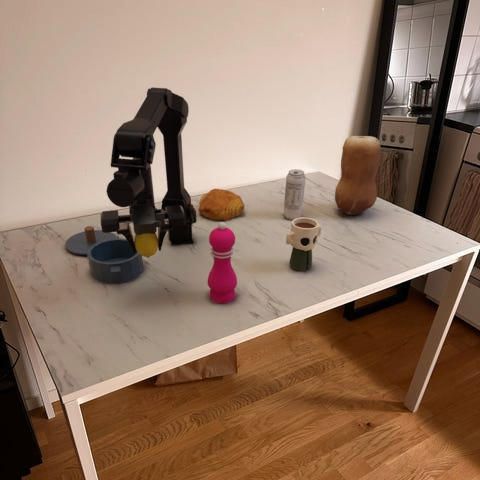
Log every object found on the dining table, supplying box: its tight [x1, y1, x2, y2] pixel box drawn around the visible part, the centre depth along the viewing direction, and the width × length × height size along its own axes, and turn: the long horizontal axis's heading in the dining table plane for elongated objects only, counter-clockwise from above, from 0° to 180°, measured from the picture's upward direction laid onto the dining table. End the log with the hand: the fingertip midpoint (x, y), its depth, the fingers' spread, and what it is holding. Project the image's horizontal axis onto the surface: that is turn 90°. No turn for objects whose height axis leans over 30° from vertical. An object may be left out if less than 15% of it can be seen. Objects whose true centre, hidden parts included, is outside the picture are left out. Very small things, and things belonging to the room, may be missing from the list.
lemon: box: [134, 232, 159, 259], centre depth 108 cm, size 6×6×8 cm
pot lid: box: [64, 225, 117, 256], centre depth 132 cm, size 15×15×5 cm
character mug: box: [285, 216, 322, 271], centre depth 122 cm, size 11×7×13 cm, turn 119°
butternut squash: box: [334, 135, 382, 216], centre depth 147 cm, size 14×13×25 cm
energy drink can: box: [282, 168, 307, 221], centre depth 147 cm, size 6×6×15 cm
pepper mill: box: [206, 221, 238, 304], centre depth 108 cm, size 7×7×20 cm
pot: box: [86, 235, 144, 285], centre depth 121 cm, size 14×19×6 cm
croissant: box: [198, 188, 245, 221], centre depth 151 cm, size 14×16×8 cm
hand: (147, 251), depth 110 cm, fingers closed on lemon, 5 cm apart
